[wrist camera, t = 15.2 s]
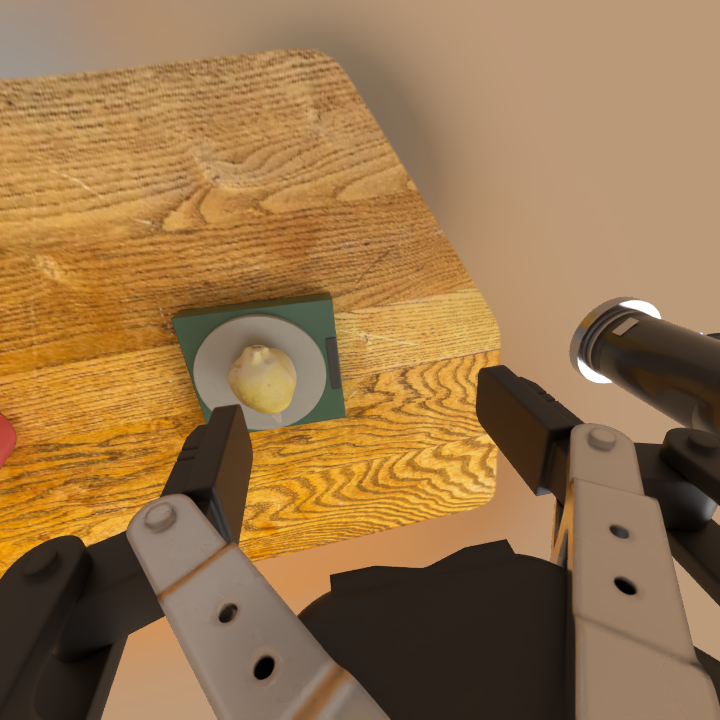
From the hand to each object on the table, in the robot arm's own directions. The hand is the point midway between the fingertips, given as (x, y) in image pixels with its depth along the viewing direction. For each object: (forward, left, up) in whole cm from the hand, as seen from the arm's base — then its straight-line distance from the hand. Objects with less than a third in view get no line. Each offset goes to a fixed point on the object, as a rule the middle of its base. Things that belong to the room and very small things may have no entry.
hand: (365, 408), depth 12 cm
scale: (+7, +10, -26) cm, 29 cm away
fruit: (+7, +10, -23) cm, 26 cm away
